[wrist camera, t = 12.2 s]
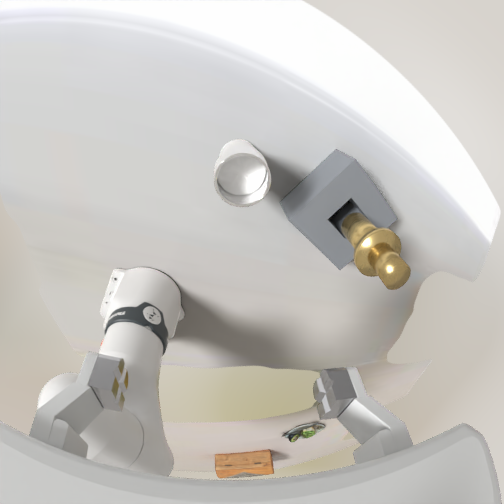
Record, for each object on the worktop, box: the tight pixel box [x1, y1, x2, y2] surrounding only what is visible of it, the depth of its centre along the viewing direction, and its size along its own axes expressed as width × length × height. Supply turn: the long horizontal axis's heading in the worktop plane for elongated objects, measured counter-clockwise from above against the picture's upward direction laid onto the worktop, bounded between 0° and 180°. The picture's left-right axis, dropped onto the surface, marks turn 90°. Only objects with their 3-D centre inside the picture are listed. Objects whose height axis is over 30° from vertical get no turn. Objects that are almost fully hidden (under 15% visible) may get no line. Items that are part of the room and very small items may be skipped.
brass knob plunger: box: [341, 212, 410, 290], centre depth 34 cm, size 7×7×14 cm
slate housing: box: [280, 149, 398, 270], centre depth 45 cm, size 14×14×8 cm
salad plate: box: [282, 422, 325, 442], centre depth 101 cm, size 19×18×5 cm
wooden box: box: [215, 450, 274, 478], centre depth 114 cm, size 30×16×14 cm, turn 98°
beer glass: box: [214, 139, 271, 207], centre depth 37 cm, size 7×7×15 cm
